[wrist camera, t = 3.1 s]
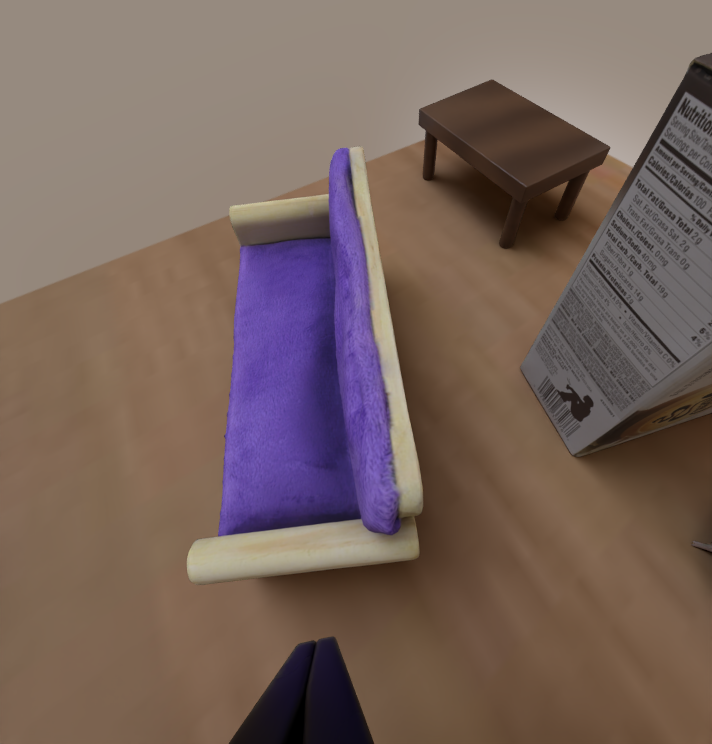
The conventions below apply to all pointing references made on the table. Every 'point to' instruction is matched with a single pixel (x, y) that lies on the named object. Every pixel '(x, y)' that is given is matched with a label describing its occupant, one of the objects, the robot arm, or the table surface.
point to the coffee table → (511, 146)
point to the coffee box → (639, 294)
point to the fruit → (703, 545)
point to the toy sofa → (313, 396)
